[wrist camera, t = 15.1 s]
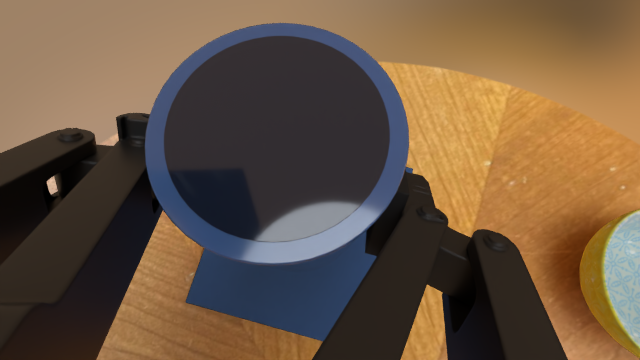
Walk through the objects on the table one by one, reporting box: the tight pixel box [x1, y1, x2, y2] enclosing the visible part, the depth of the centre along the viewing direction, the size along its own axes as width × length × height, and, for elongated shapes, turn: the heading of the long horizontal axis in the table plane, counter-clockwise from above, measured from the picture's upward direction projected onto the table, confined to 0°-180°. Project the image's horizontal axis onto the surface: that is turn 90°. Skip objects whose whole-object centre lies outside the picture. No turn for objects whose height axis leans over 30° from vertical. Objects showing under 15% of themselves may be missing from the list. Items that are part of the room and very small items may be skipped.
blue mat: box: [186, 167, 413, 341], centre depth 28 cm, size 16×16×1 cm
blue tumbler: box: [145, 23, 409, 272], centre depth 13 cm, size 7×7×11 cm
